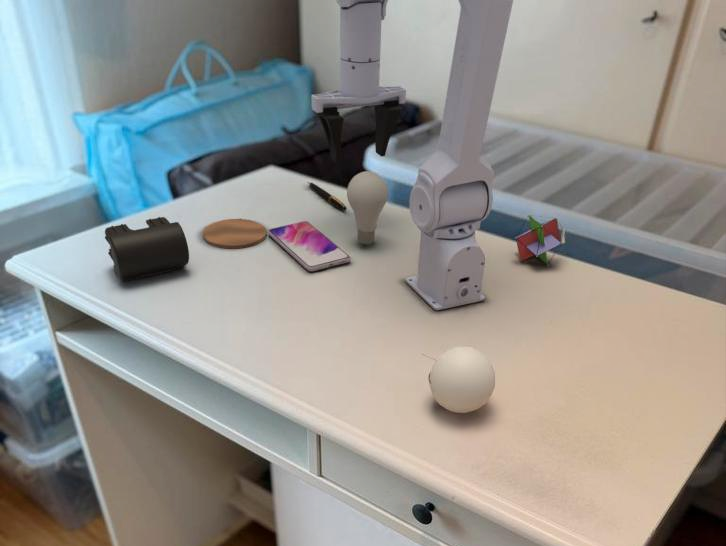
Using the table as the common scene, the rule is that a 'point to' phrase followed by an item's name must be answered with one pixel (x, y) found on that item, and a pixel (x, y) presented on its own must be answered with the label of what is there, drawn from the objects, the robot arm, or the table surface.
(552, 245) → the geometric puzzle
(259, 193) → the table surface
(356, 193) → the lightbulb
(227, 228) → the copper coaster
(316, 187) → the fountain pen
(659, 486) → the table surface
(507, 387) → the table surface
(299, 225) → the smartphone
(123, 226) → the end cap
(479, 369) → the white ball
